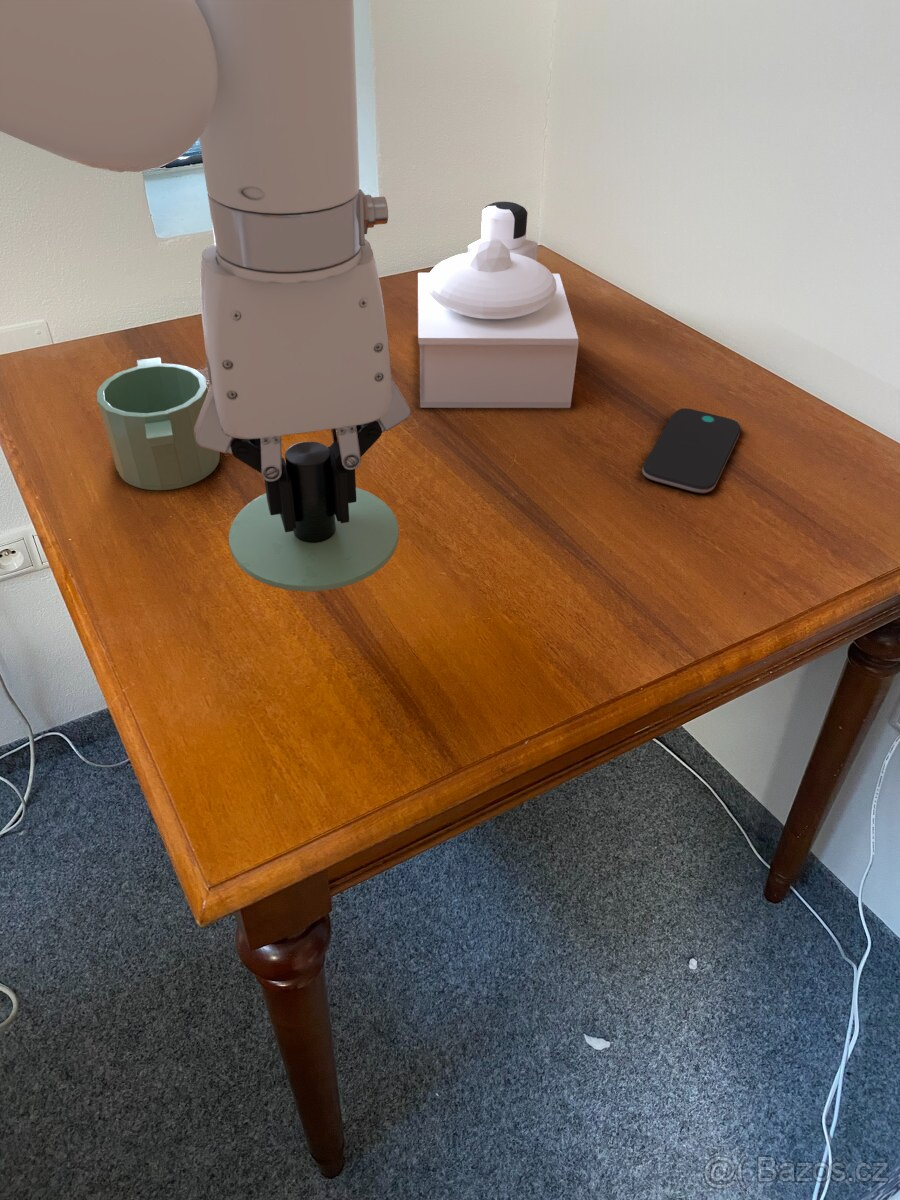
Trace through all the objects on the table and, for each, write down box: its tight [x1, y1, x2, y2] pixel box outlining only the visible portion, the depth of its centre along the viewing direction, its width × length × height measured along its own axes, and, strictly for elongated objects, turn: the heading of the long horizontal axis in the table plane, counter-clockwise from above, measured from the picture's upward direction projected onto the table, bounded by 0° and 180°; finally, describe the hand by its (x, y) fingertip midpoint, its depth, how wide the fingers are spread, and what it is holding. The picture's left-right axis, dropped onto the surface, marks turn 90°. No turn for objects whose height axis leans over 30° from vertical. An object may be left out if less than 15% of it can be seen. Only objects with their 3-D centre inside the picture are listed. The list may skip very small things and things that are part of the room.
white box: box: [417, 239, 580, 409], centre depth 102 cm, size 18×18×16 cm
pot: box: [96, 356, 221, 491], centre depth 89 cm, size 10×16×8 cm, turn 18°
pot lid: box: [228, 441, 400, 592], centre depth 57 cm, size 11×11×7 cm
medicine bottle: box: [466, 201, 539, 261], centre depth 120 cm, size 7×7×12 cm
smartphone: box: [642, 407, 742, 495], centre depth 94 cm, size 8×1×15 cm
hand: (312, 512), depth 57 cm, fingers closed on pot lid, 2 cm apart
